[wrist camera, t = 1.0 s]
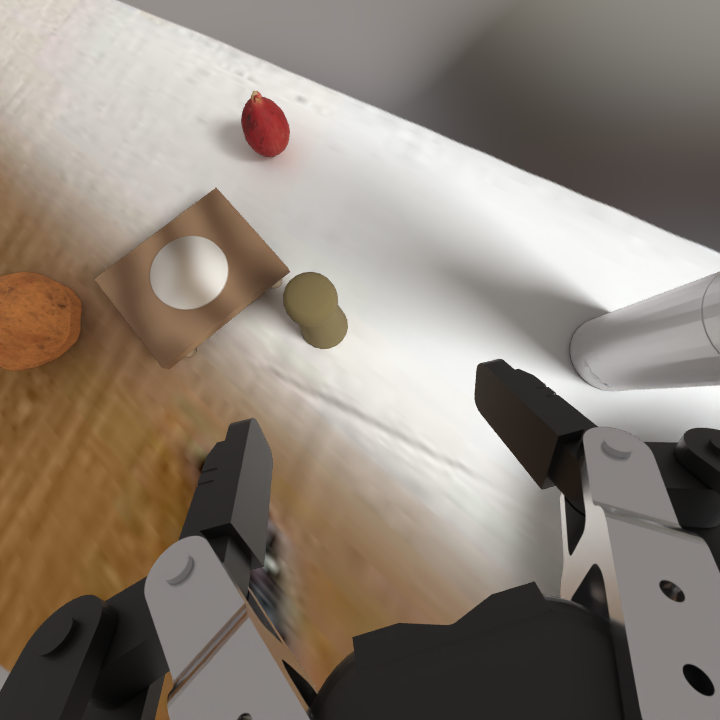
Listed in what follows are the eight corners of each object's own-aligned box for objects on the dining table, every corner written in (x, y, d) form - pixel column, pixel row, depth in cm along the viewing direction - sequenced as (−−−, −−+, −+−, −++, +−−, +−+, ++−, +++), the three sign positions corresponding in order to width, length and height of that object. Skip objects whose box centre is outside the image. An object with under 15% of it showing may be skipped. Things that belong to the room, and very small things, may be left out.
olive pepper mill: (291, 328, 37) (260, 297, 26) (321, 294, 38) (304, 249, 27) (326, 358, 36) (310, 338, 25) (357, 322, 37) (354, 288, 26)
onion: (272, 179, 40) (249, 124, 32) (246, 152, 41) (218, 92, 33) (303, 154, 41) (288, 93, 33) (277, 128, 42) (257, 63, 34)
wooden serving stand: (231, 210, 40) (214, 185, 35) (295, 282, 38) (286, 265, 33) (123, 292, 38) (90, 277, 33) (185, 372, 36) (159, 367, 32)
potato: (117, 312, 38) (56, 289, 30) (63, 386, 36) (-15, 381, 29) (62, 279, 38) (-10, 249, 31) (7, 351, 37) (-82, 337, 30)
